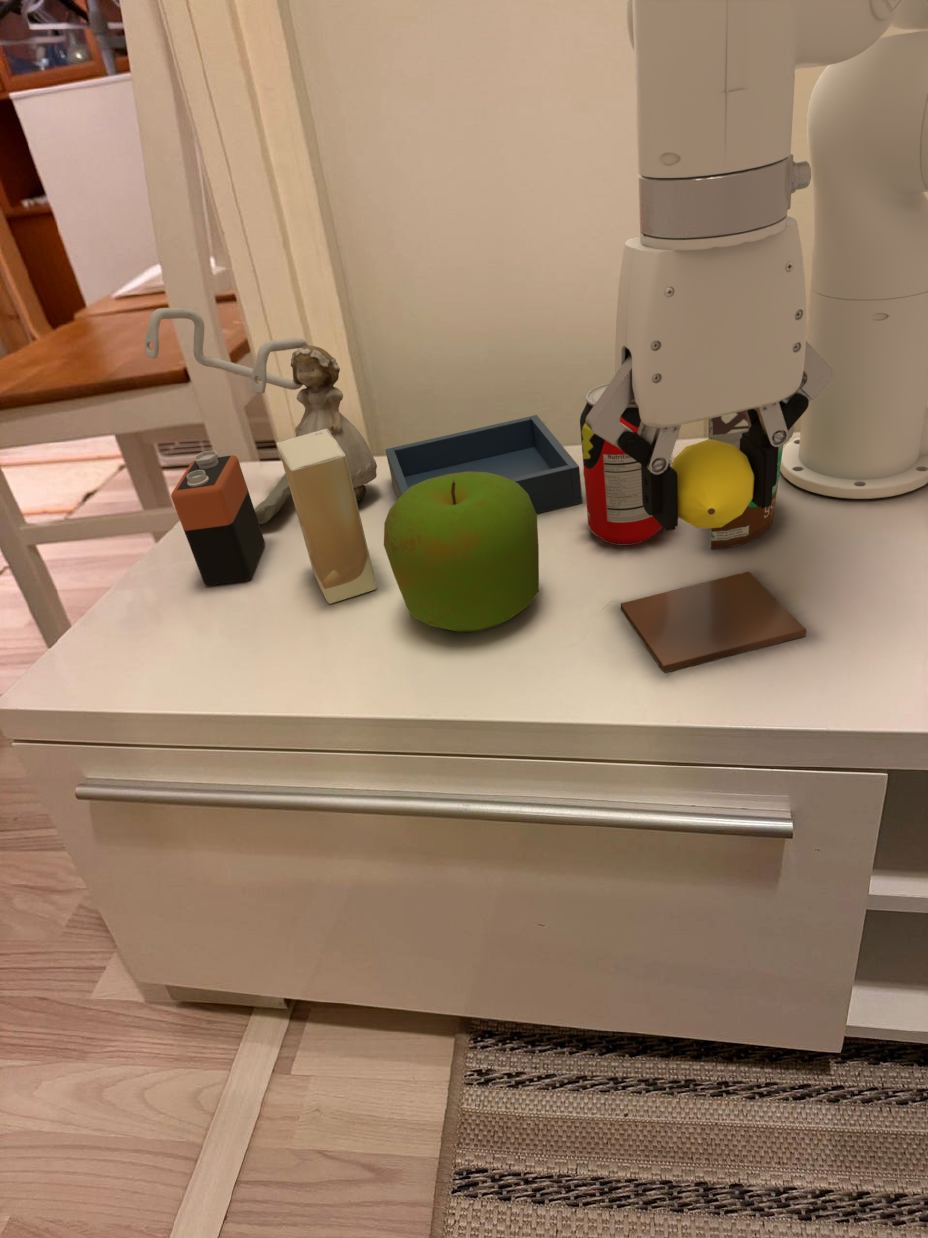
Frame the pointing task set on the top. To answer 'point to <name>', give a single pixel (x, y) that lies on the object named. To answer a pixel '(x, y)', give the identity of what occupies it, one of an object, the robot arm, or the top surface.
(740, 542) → the brown and cream wedge
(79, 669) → the top surface
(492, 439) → the bin
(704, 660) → the placemat
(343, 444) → the figurine
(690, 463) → the lemon
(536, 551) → the apple
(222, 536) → the battery
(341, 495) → the cosmetic box
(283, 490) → the stone
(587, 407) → the beverage can
